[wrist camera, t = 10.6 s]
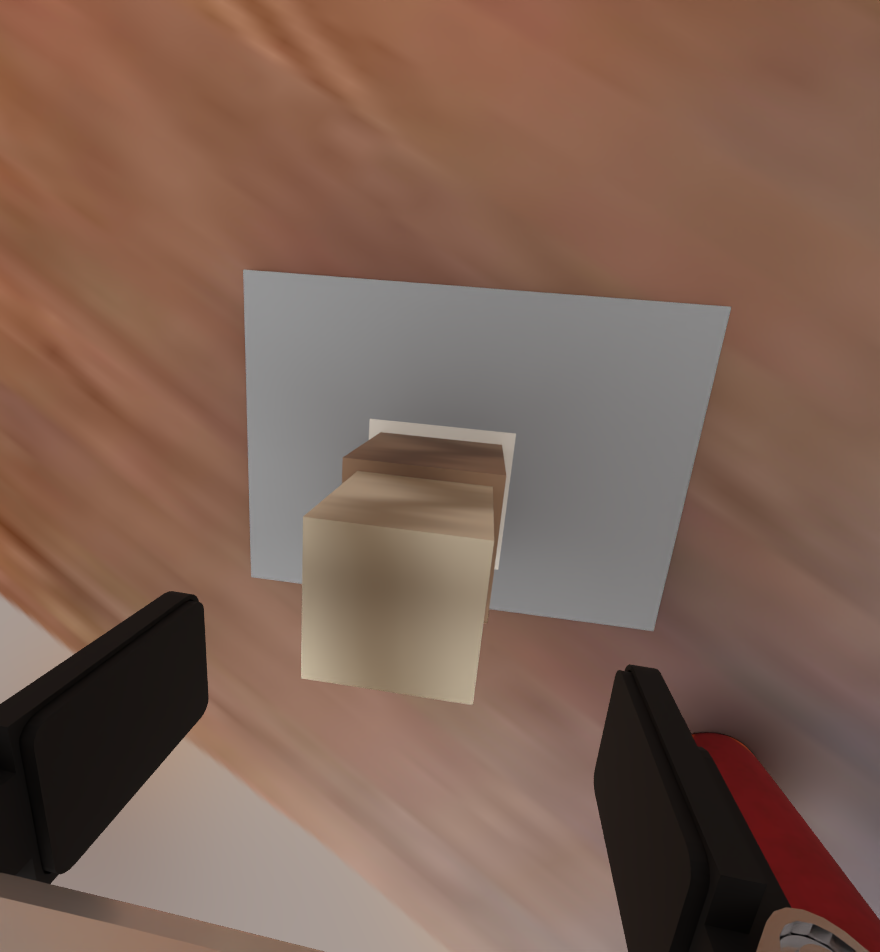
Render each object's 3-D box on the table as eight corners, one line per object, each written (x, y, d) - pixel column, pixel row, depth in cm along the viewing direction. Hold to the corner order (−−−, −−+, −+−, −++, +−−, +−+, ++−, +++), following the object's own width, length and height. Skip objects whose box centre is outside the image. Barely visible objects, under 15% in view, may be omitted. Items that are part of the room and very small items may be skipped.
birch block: (493, 486, 16) (494, 540, 11) (477, 609, 17) (472, 704, 13) (357, 471, 17) (303, 516, 12) (351, 592, 18) (301, 678, 13)
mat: (724, 308, 20) (732, 306, 19) (649, 624, 24) (654, 632, 23) (249, 272, 22) (242, 269, 21) (256, 571, 26) (250, 577, 25)
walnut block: (502, 444, 22) (506, 475, 16) (488, 557, 23) (487, 623, 18) (380, 432, 22) (342, 457, 16) (375, 543, 24) (338, 602, 18)
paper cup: (610, 752, 26) (737, 1164, 13) (735, 694, 24) (1034, 1102, 11) (680, 842, 27) (864, 1310, 14) (804, 793, 26) (1153, 1275, 12)
